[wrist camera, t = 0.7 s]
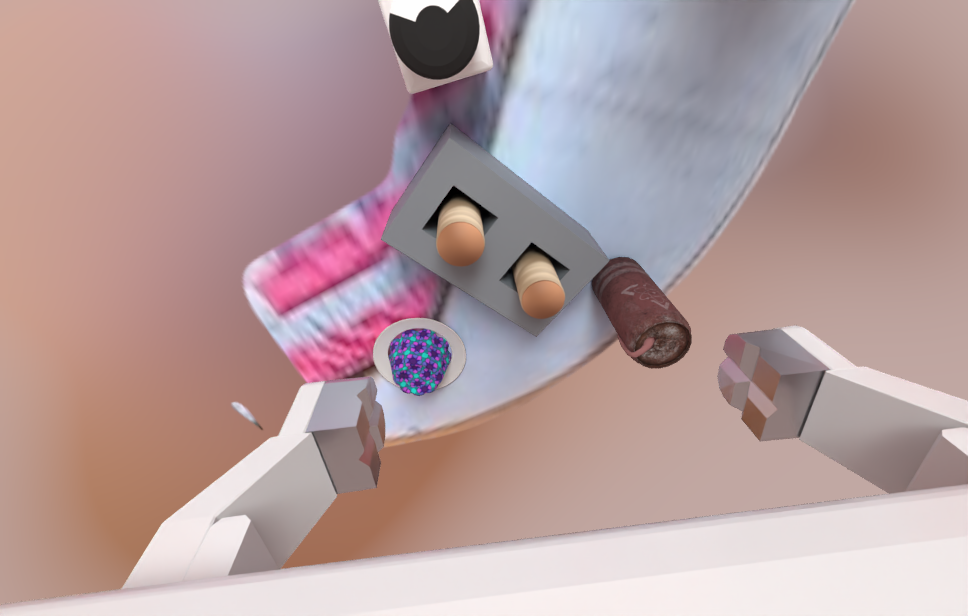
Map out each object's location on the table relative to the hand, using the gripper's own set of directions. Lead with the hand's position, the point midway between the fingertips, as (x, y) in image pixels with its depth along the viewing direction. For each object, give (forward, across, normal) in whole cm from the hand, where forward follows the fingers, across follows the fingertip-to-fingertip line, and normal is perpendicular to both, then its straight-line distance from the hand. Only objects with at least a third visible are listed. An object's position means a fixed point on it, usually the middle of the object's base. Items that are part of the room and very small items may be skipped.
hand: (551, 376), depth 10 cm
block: (+38, -1, +9) cm, 39 cm away
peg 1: (+33, +2, +6) cm, 33 cm away
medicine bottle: (+38, +2, -9) cm, 39 cm away
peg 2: (+33, -4, +12) cm, 35 cm away
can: (+38, -15, +18) cm, 45 cm away
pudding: (+39, +10, +26) cm, 48 cm away
